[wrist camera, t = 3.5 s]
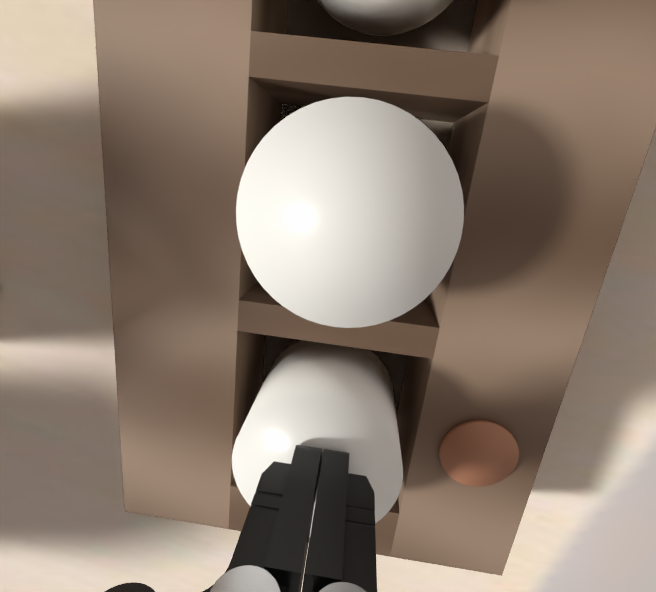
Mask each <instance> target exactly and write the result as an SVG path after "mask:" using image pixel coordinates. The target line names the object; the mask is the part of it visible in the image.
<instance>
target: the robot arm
mask: <svg viewBox="0 0 656 592" xmlns="http://www.w3.org/2000/svg"><path fill="white" fill-rule="evenodd" d="M321 450H322V449H321V448H315V447H309V446H302V445H296V447H295V450H294V454H293V458H292V462H291V464H288V463H282V462H276V461H274V462H273V463H272V464H271V465H270V466H269V467H268V468H267V469H266V470H265V471H264V472H263V473H262V474H261V477H260V480H259V483H258V486H257V488H256V492H255V494H254V497H253V500H252V503H251V507H250V508H249V511H248V514H247V517H246V520H245V523H244V525H243V528H242V531H241V534H240V537H239V540H238V543H237V545H236V548H235V551H234V554H233V557H232V560H231V562H230V565H229V567H228V569H227V570H226V572H225V573H224V574H223V575H222V576H221V577H220V578H219V579H218V580H217V581H216V582H215V584H214V585H213V586H211V587H210V588H208V589H206V590H205V591H203V592H301V587H302V580H303V574H304V581H303V588H302V592H377V577H376V536H375V494H374V490H373V488H372V486H371V484H370V482H369V480H368V478H367V476H363V475H357V474H351V473H348V470H349V453H347V452H341V451H334V450H328V449H324V451H323V458H322V464H321V471H320V477H319V483H318V490H317V496H316V489H317V482H318V474H319V466H320V458H321ZM315 497H316V503H315ZM314 504H315V509H314ZM313 511H314V515H313ZM312 517H313V522H312ZM311 524H312V528H311ZM310 530H311V535H310ZM309 536H310V541H309ZM308 542H309V547H308ZM307 549H308V554H307ZM306 555H307V560H306ZM305 561H306V567H305ZM304 568H305V573H304ZM105 592H155V591H154V590H153V589H152V588H151V587H149V586H147V585H145V584H141V583H125V584H121V585H118V586H115V587H113V588H110V589H109V590H107V591H105Z"/></svg>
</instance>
